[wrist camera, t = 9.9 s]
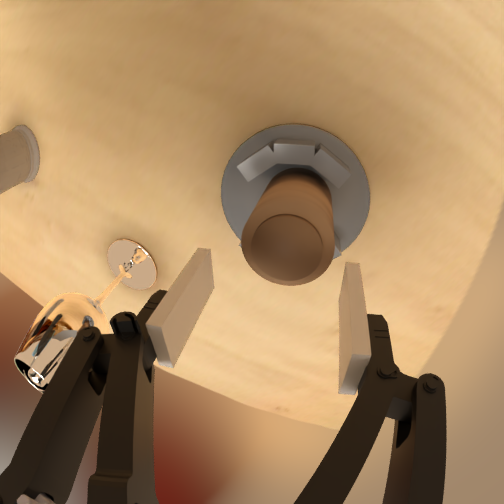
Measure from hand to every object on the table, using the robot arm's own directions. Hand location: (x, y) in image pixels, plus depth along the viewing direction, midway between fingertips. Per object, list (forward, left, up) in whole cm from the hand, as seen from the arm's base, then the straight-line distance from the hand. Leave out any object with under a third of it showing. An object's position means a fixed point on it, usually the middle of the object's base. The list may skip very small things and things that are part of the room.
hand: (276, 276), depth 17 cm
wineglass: (+10, -20, -13) cm, 26 cm away
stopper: (0, 0, -12) cm, 12 cm away
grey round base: (0, 0, -13) cm, 13 cm away
